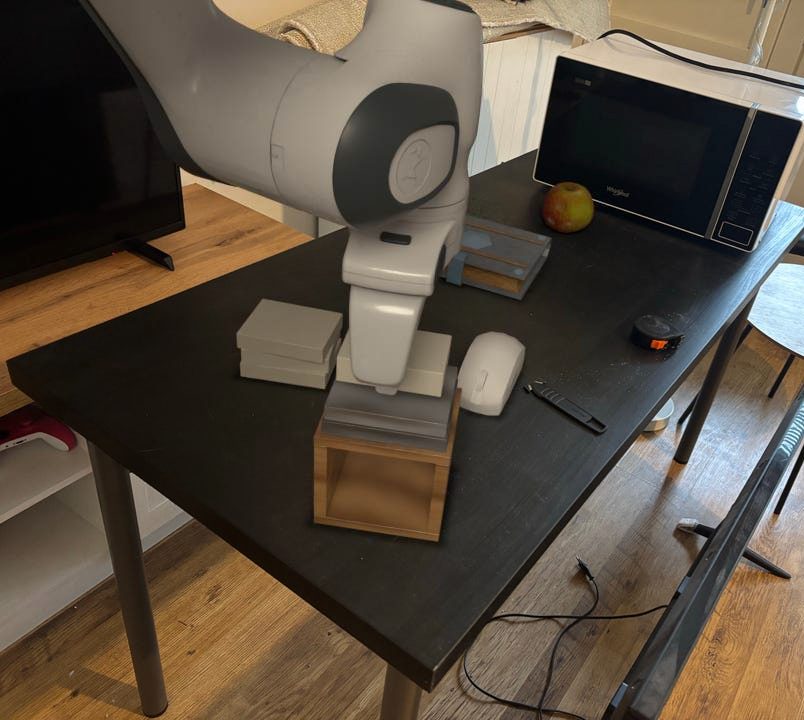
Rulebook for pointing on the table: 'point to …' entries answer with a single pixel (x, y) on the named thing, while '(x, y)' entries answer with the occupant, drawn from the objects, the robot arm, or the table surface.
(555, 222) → the fruit
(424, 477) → the oak stand
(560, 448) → the table surface
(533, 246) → the book
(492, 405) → the computer mouse
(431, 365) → the beige flat block
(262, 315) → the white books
